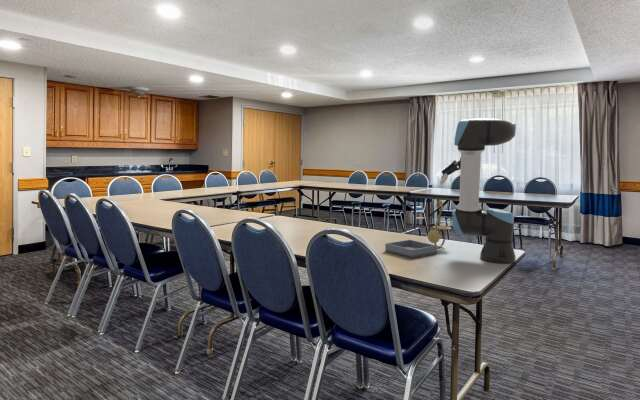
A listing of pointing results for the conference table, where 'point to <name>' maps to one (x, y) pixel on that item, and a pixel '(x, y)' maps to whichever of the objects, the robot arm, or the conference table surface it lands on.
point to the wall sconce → (433, 234)
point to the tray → (411, 248)
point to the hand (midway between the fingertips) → (451, 184)
